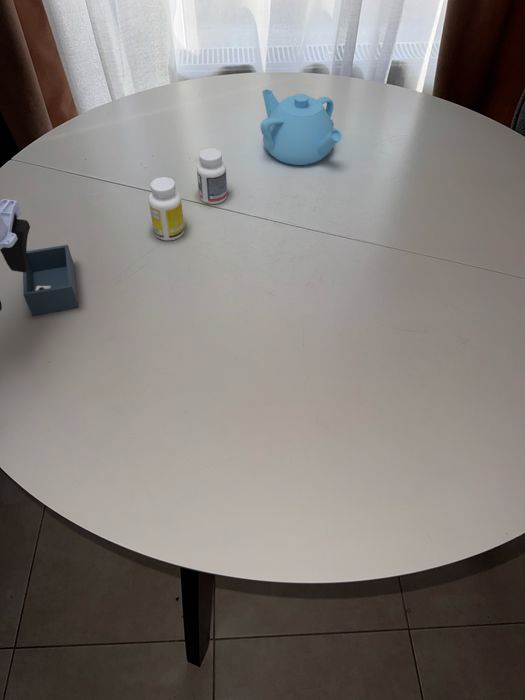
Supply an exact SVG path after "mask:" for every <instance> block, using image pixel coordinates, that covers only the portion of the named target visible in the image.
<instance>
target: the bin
mask: <svg viewBox="0 0 525 700" xmlns="http://www.w3.org/2000/svg"><path fill="white" fill-rule="evenodd" d="M76 277H77V276H76V268H75V264H74V260H73V257H72V254H71V250H70V248H69V244H64V245H57V246H50V247H46V248H38V249H31V250H27V271H26V273H25V272H22V287H23V288H22V289H23V291H22V292H23V293H22V294H23V298H24V300H25V302H26V305H27V307H28V310H29V311H30V314H31V316H39V315H43V314H45V315H46V314H50V313H56V312H61V311H67V310H72V309H77V308H78V309H79V308H80V307H79V305H80V304H79V297H78V287H77V278H76ZM37 286H51V288H48V289H42V290H37V291H35V290H36V287H37Z"/></svg>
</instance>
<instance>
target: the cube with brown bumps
mask: <svg viewBox="0 0 525 700" xmlns="http://www.w3.org/2000/svg"><path fill="white" fill-rule="evenodd" d="M48 288H51V286H37V287H36V290H35V291H37V290H42V289H48Z"/></svg>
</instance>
